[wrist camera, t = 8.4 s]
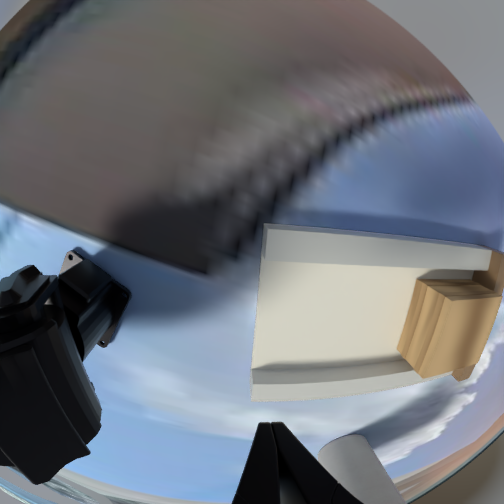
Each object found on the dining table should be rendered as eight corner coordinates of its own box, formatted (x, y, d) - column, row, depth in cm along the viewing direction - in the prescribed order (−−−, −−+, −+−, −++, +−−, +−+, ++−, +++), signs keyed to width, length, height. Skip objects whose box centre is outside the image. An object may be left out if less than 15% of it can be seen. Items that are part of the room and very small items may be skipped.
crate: (395, 349, 22) (422, 379, 17) (416, 278, 20) (451, 300, 16) (451, 340, 23) (477, 363, 18) (470, 278, 21) (502, 295, 16)
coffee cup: (337, 422, 25) (380, 531, 10) (390, 429, 26) (436, 512, 12) (291, 465, 27) (310, 560, 12) (345, 468, 28) (373, 547, 14)
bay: (249, 382, 23) (252, 414, 19) (263, 223, 19) (270, 233, 15) (450, 360, 24) (468, 377, 20) (485, 246, 21) (511, 255, 17)
